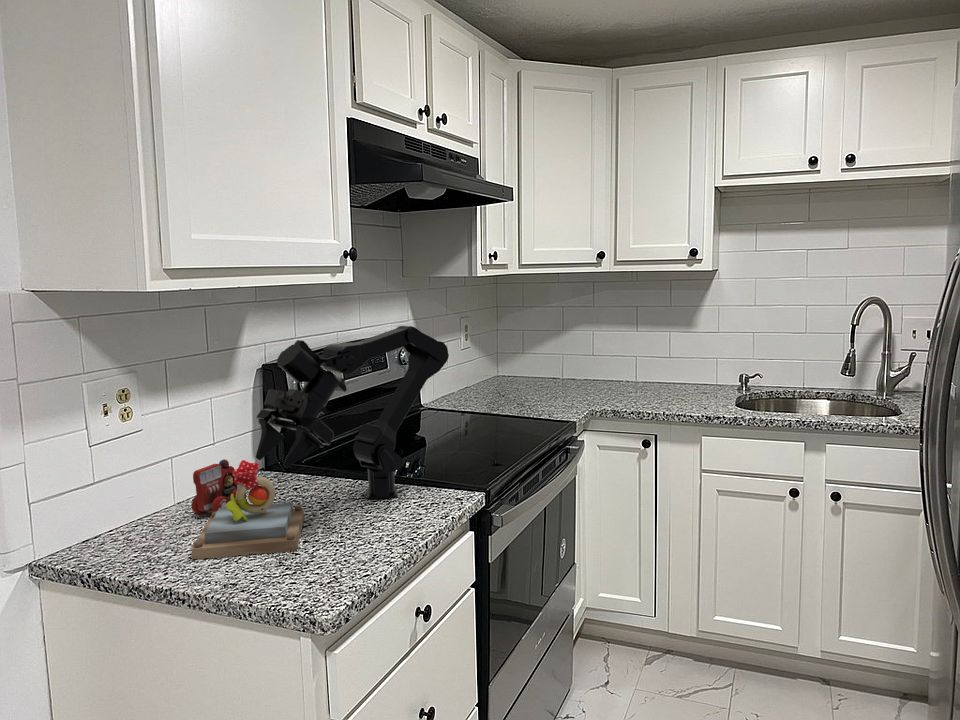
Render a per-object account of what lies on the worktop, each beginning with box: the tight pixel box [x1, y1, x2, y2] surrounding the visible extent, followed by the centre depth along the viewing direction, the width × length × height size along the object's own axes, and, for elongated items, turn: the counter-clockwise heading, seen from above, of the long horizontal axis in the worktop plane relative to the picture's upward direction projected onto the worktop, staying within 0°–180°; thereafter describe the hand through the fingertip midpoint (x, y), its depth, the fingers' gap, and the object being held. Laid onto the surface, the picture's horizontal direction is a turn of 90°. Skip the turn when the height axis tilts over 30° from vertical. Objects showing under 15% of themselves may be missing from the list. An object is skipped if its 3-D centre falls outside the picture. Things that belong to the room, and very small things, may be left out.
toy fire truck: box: [191, 459, 248, 515], centre depth 156 cm, size 7×12×10 cm, turn 157°
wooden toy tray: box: [190, 501, 305, 561], centre depth 140 cm, size 18×18×4 cm
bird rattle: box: [226, 459, 276, 521], centre depth 140 cm, size 6×11×9 cm
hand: (270, 462), depth 143 cm, fingers open, 9 cm apart
